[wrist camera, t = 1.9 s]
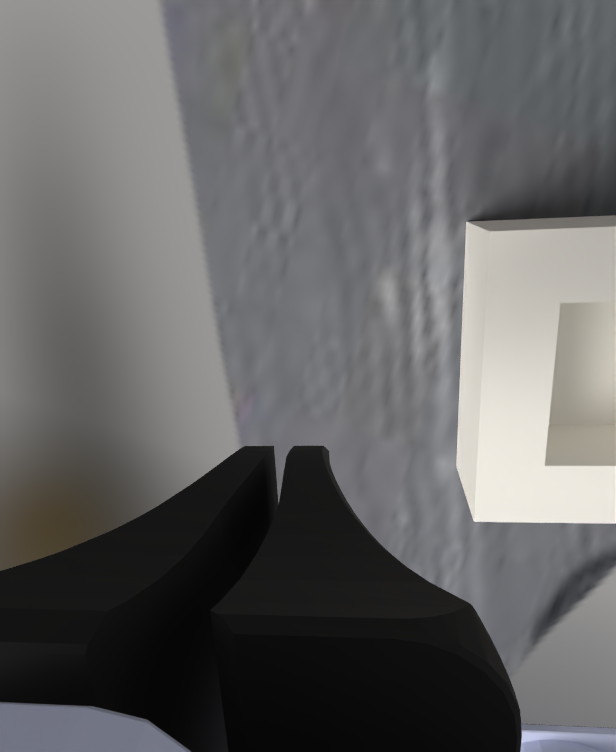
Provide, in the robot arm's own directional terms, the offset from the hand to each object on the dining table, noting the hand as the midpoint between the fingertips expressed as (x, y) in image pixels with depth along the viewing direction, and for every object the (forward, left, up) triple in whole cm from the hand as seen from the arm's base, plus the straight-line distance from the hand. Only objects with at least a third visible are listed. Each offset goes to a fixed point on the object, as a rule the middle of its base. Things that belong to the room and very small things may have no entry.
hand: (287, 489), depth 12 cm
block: (0, -10, -10) cm, 14 cm away
